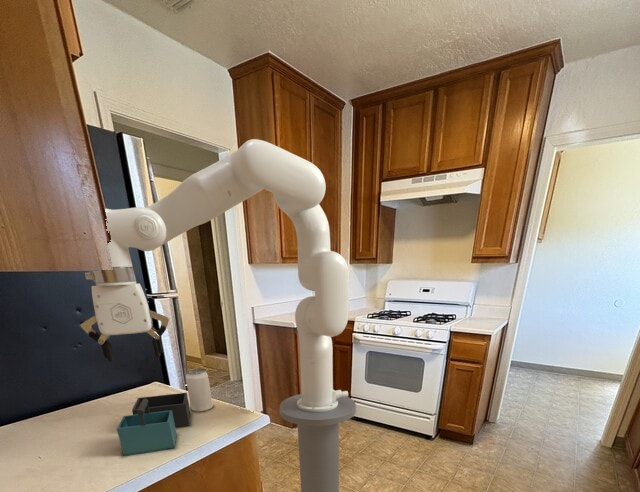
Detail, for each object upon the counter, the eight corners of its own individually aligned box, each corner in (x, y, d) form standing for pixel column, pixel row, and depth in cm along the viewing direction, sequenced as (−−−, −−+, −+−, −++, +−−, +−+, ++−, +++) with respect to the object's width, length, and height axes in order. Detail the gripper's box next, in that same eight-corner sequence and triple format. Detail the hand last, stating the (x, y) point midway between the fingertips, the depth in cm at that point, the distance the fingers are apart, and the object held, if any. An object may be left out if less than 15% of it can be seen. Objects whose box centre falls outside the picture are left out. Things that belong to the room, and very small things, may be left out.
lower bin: (190, 413, 107) (186, 392, 104) (189, 426, 98) (185, 403, 96) (143, 418, 103) (138, 397, 101) (137, 433, 95) (131, 410, 92)
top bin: (176, 434, 93) (168, 395, 89) (174, 448, 86) (166, 406, 82) (130, 441, 90) (119, 401, 86) (123, 455, 83) (112, 413, 79)
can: (198, 413, 106) (191, 375, 102) (187, 408, 110) (180, 371, 106) (216, 407, 111) (211, 370, 106) (206, 403, 115) (200, 367, 110)
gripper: (60, 280, 68) (88, 366, 74) (157, 275, 72) (175, 358, 79) (73, 279, 74) (97, 358, 81) (161, 275, 79) (177, 351, 86)
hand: (135, 358), depth 80 cm, fingers open, 9 cm apart
